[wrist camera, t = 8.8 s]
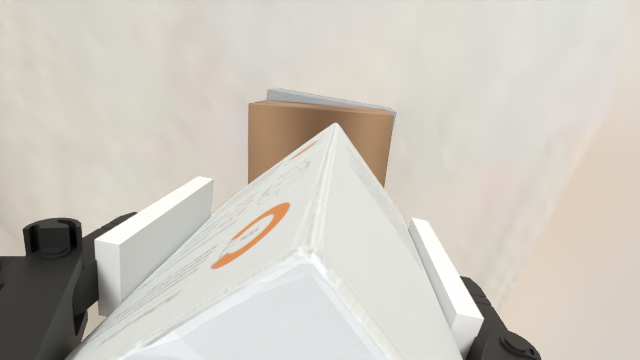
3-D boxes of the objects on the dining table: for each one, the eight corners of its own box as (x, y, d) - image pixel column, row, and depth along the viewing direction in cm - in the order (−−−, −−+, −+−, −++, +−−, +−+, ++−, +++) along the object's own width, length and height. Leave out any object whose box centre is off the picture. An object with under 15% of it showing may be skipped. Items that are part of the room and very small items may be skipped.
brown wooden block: (265, 207, 27) (248, 233, 22) (268, 99, 24) (248, 103, 19) (370, 217, 26) (375, 247, 21) (384, 109, 24) (394, 115, 19)
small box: (290, 281, 19) (181, 646, 7) (223, 201, 18) (-61, 465, 5) (405, 212, 17) (552, 552, 5) (338, 118, 16) (300, 236, 4)
